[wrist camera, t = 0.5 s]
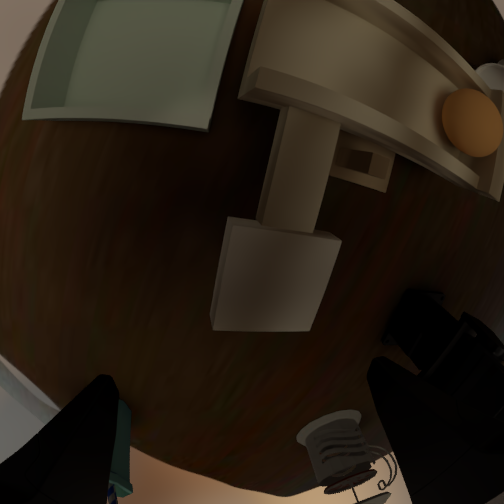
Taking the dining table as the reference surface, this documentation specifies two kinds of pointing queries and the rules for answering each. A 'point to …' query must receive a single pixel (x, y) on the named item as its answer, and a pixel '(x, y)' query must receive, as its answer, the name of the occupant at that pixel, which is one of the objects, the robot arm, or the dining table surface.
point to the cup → (121, 457)
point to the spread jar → (492, 74)
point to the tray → (132, 62)
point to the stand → (362, 161)
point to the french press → (342, 454)
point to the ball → (472, 122)
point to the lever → (335, 141)
